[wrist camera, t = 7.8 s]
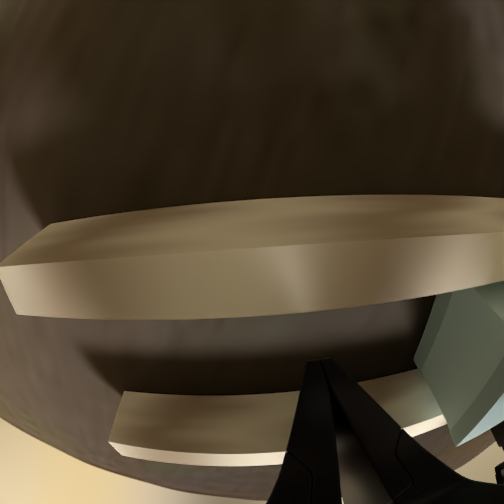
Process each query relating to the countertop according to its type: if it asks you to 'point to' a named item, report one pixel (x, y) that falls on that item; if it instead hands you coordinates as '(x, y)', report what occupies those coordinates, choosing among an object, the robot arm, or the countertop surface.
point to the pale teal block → (466, 358)
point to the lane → (255, 295)
